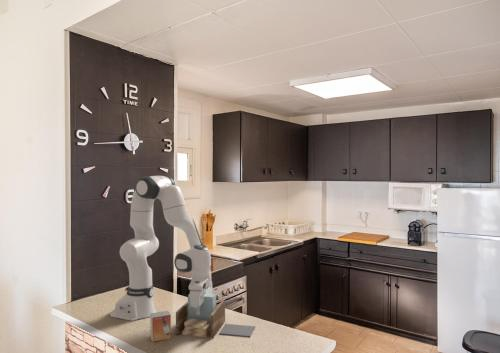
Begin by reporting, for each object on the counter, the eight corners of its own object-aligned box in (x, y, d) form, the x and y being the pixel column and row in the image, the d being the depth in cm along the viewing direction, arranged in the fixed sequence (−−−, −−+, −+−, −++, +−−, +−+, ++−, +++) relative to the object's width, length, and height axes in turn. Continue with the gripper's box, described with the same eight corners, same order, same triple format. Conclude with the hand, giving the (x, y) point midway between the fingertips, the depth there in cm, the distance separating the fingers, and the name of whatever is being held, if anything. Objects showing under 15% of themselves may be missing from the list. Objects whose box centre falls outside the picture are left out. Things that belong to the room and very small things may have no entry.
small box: (152, 342, 154) (151, 317, 154) (150, 337, 159) (149, 313, 159) (171, 338, 157) (170, 314, 157) (168, 333, 162) (168, 310, 162)
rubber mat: (219, 334, 160) (219, 333, 160) (225, 324, 170) (225, 323, 170) (250, 337, 157) (250, 335, 157) (254, 327, 167) (254, 326, 167)
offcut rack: (176, 334, 161) (175, 312, 160) (191, 318, 178) (191, 298, 178) (213, 338, 157) (212, 315, 157) (225, 321, 174) (224, 300, 174)
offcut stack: (182, 335, 161) (182, 323, 161) (188, 329, 167) (188, 317, 167) (205, 338, 158) (205, 325, 157) (211, 331, 164) (211, 320, 163)
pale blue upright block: (188, 327, 168) (187, 295, 167) (192, 323, 172) (191, 292, 172) (213, 330, 165) (212, 297, 165) (216, 325, 169) (215, 293, 169)
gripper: (203, 274, 179) (203, 302, 179) (187, 287, 159) (187, 318, 159) (215, 274, 178) (215, 302, 178) (200, 288, 158) (201, 319, 158)
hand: (202, 310), depth 168 cm, fingers open, 8 cm apart
